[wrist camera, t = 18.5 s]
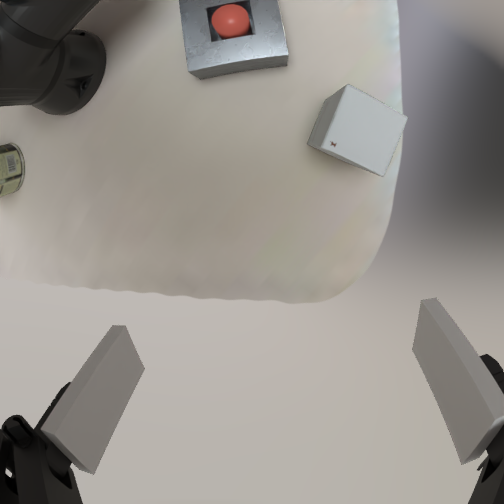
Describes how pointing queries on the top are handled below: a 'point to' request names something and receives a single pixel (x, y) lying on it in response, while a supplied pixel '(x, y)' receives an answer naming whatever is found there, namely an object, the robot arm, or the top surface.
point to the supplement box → (358, 130)
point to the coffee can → (10, 169)
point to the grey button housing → (235, 49)
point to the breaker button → (231, 22)
